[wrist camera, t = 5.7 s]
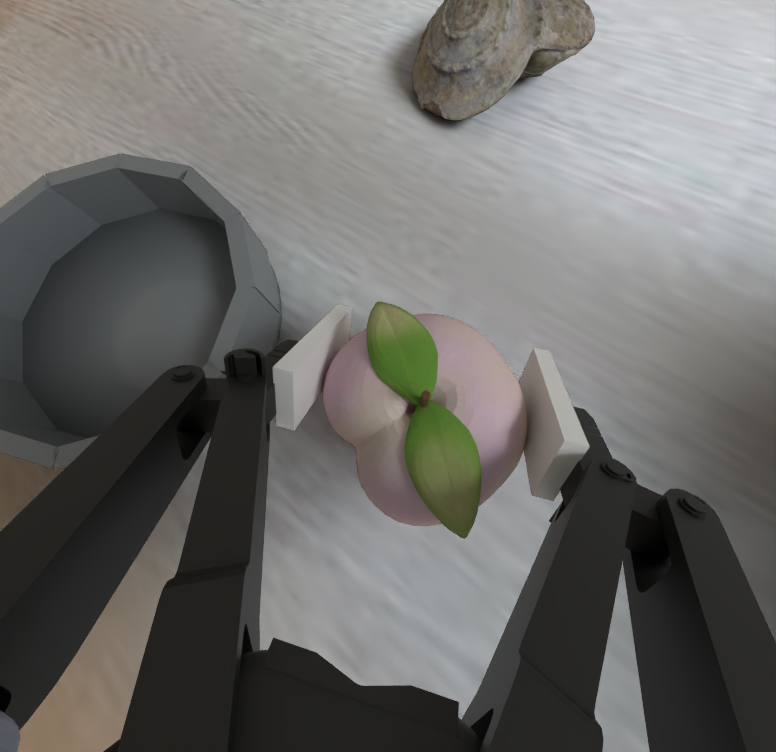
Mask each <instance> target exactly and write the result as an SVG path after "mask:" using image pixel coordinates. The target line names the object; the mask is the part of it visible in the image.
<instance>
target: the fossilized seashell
mask: <svg viewBox="0 0 776 752" xmlns="http://www.w3.org/2000/svg"><path fill="white" fill-rule="evenodd" d="M594 32H595V22H594V16H593V14H592V12H591V9H590V7H589V5H587V4H586V3H585V1H584V0H444V2H443V4H442V5H441V6H440V7H439V8H438V9H437V11H436V13H435V14H434V16H433V17H432V18H431V20H430V21H429V23H428V25H427V28H426V30H425V31H424V33H423V34H422V37H421V40H420V45H419V49H418V54H417V56H416V60H415V63H414V67H413V73H412V85H413V91H414V93H415V94H416V95H417V97H418V103H419V106H420V108H421V109H427V110H428V111H430V112H432V113H434V114H435V115H436V116H441V117H443V118H445V119H450V120H464V119H467V118H470V117H472V116H475V115H477V114H480V113H482V112H484V111H486V110H487V109H489V108H490V107H492V106H493V105H494V104H496V103H497V102H498V101H499V100H500V99H501V98H502V97H503V96H504V95H505V94H506V93H507V92H508V91H509V89H510V88H511V87H512V86H513V84H514V83H515V82H516V81H517V80H518V79H519V78H521V77H537V76H541V75H542V74H543V73H544V72H546V71H547V70H549V69H551V68H552V67H554V66H555V65H557V64H558V63H560V62H562V61H564V60H566V59H567V58H569V57H570V56H573V55H576V54H577V53H578V52H579V51H580V50H581V49H583V48H584V47H585V46H586V45H588V44H589V42H590V41H591V40H592V37H593V35H594Z"/></svg>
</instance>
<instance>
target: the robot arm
mask: <svg viewBox="0 0 776 752" xmlns="http://www.w3.org/2000/svg"><path fill="white" fill-rule="evenodd" d="M351 315H352V307H350V306H345V305H341V304H337V305H336V306H335V307H334V308H333V309H332V310H331V311H330V312H329V313H328V314H327V315H326V316H325V317H324V318H323V319H322V320H321V321H320V322H319V323H318V324H317V325H316V326H315V327H314V328H313V329H312V330H310V331H309V332H308V333H307V334H306V335H305V336H304V337H303V338H302V339H301V340H300V341H299V342H297V341H293V340H287V341H285V342H282V343H280V344H279V345H277V346H276V347H275V348H274V349H273V350H272V351H271V352H269V353H268V355H266V356H265V357H264V354H263V353H261V352H260V351H258V350H255V349H248V348H245V349H237V350H233V351H231V352H229V353H227V354H226V355H225V357H224V365H225V371H226V377H227V378H205V373H204V370H203V369H202V368H200V367H198V366H194V365H182V366H176V367H174V368H171V369H168V370H167V371H166V372H164V373H163V374H162V375H161V376H160V377H159V378H158V379H157V380H156V381H155V382H154V383H153V384H152V385H151V386H150V387H148V388H147V389H146V390H145V391H144V392H143V393H142V394H141V395H140V396H139V397H138V398H137V399H136V400H135V401H134V402H133V403H132V404H131V405H130V406H129V407H128V408H127V409H126V410H125V411H124V412H123V413H122V414H121V415H120V416H119V417H118V418H117V419H116V420H115V421H114V422H113V423H112V424H111V425H109V426H108V427H107V428H106V429H105V430H104V431H103V432H102V433H101V434H100V435H99V436H98V437H97V438H96V439H95V440H94V441H93V442H92V443H91V444H90V445H89V446H88V447H87V448H86V449H85V450H84V451H83V452H82V453H81V454H80V455H79V456H78V457H77V458H76V459H75V460H74V461H73V462H72V463H70V464H69V465H68V466H67V467H66V468H65V469H64V470H63V471H62V472H61V473H60V474H59V475H58V476H57V477H56V478H55V479H54V480H53V481H52V482H51V483H50V484H49V485H48V486H47V487H46V488H45V489H44V490H43V491H42V492H41V493H40V494H39V495H38V496H37V497H36V498H35V499H34V500H32V501H31V502H30V503H29V504H28V505H27V506H26V507H25V508H24V509H23V510H22V511H21V512H20V513H19V514H18V515H17V516H16V517H15V518H14V519H13V520H12V521H11V522H10V523H9V524H8V525H7V526H6V527H5V528H4V529H3V530H2V531H1V532H0V752H17V750H18V745H19V741H20V734H19V730H20V729H21V728H22V727H23V726H24V724H25V723H26V722H27V721H28V720H29V718H30V717H31V716H32V715H33V713H34V712H35V711H36V709H37V708H38V707H39V705H40V704H41V703H42V702H43V700H44V699H45V698H46V696H47V695H48V694H49V692H50V691H51V690H52V689H53V687H54V686H55V684H56V683H57V681H58V680H59V679H60V677H61V676H62V674H63V673H64V671H65V670H66V668H67V667H68V665H69V664H70V662H71V661H72V659H73V658H74V656H75V655H76V653H77V652H78V650H79V648H80V647H81V645H82V643H83V642H84V640H85V639H86V637H87V635H88V634H89V632H90V631H91V629H92V627H93V626H94V624H95V623H96V621H97V619H98V618H99V616H100V615H101V613H102V611H103V610H104V608H105V607H106V605H107V603H108V602H109V600H110V598H111V597H112V595H113V594H114V592H115V590H116V589H117V587H118V586H119V584H120V582H121V581H122V579H123V578H124V576H125V574H126V573H127V571H128V570H129V568H130V566H131V565H132V563H133V561H134V560H135V558H136V557H137V555H138V553H139V552H140V550H141V549H142V547H143V545H144V544H145V542H146V541H147V539H148V537H149V536H150V534H151V533H152V531H153V529H154V528H155V526H156V524H157V523H158V521H159V520H160V518H161V516H162V515H163V513H164V512H165V510H166V508H167V507H168V505H169V504H170V502H171V500H172V499H173V497H174V496H175V494H176V492H177V491H178V489H179V488H180V486H181V484H182V483H183V481H184V479H185V478H186V476H187V475H188V473H189V471H190V470H191V468H192V467H193V465H194V463H195V462H196V460H197V459H198V457H199V455H200V454H201V452H202V451H203V449H204V447H205V446H206V444H207V442H208V441H209V439H210V438H211V441H210V445H209V449H208V453H207V457H206V461H205V465H204V469H203V473H202V476H201V480H200V484H199V488H198V492H197V496H196V500H195V504H194V508H193V512H192V516H191V520H190V524H189V528H188V532H187V535H186V539H185V543H184V547H183V551H182V555H181V559H180V563H179V567H178V570H177V573H176V575H175V577H174V578H172V579H170V580H168V581H167V583H166V585H165V586H164V588H163V590H162V593H161V596H160V599H159V602H158V606H157V609H156V613H155V617H154V620H153V624H152V627H151V631H150V635H149V638H148V642H147V645H146V649H145V652H144V656H143V660H142V663H141V667H140V670H139V674H138V678H137V681H136V685H135V688H134V692H133V696H132V699H131V703H130V706H129V710H128V714H127V717H126V721H125V724H124V728H123V732H122V735H121V739H119V740H118V741H117V742H115V743H114V744H113V745H112V746H110V747H109V748H108V749H106V750H105V751H104V752H602V749H603V734H602V728H601V726H600V725H599V724H598V722H597V721H596V720H595V715H594V710H595V702H596V697H597V692H598V687H599V681H600V676H601V671H602V665H603V660H604V655H605V649H606V644H607V639H608V634H609V628H610V623H611V618H612V612H613V607H614V602H615V596H616V591H617V586H618V580H619V575H620V570H621V565H622V559H623V566H624V574H625V581H626V588H627V595H628V602H629V609H630V616H631V623H632V630H633V637H634V644H635V651H636V658H637V665H638V672H639V679H640V686H641V693H642V700H643V708H644V715H645V722H646V729H647V736H648V743H649V750H650V752H776V643H775V641H774V638H773V636H772V634H771V632H770V630H769V627H768V625H767V623H766V621H765V619H764V616H763V614H762V612H761V610H760V607H759V605H758V603H757V601H756V599H755V596H754V594H753V592H752V590H751V588H750V585H749V583H748V581H747V579H746V577H745V574H744V572H743V570H742V568H741V565H740V563H739V561H738V559H737V557H736V554H735V552H734V550H733V548H732V546H731V543H730V541H729V539H728V537H727V535H726V532H725V530H724V528H723V526H722V523H721V521H720V519H719V517H718V516H717V514H716V513H715V511H714V510H713V509H712V508H711V507H710V506H709V505H708V504H707V503H706V502H705V501H703V500H702V499H700V498H699V497H697V496H695V495H693V494H691V493H689V492H687V491H684V490H680V489H670V490H668V491H667V492H666V493H665V494H664V495H663V496H661V495H659V494H657V493H655V492H653V491H651V490H649V489H646V488H644V487H642V486H640V485H638V484H637V482H636V477H635V476H634V474H633V473H632V472H631V471H630V470H629V469H628V468H627V467H626V466H625V465H623V464H622V463H620V462H619V461H617V460H615V459H613V458H612V456H611V454H610V452H609V450H608V448H607V446H606V444H605V442H604V440H603V438H602V437H601V434H600V431H599V429H597V428H598V427H597V425H596V423H595V421H594V419H593V418H592V417H591V416H590V415H589V414H588V413H587V412H586V411H585V410H584V409H581V408H577V407H573V406H572V403H571V401H570V398H569V396H568V394H567V391H566V389H565V386H564V384H563V382H562V379H561V377H560V374H559V372H558V370H557V367H556V365H555V363H554V360H553V358H552V355H551V353H550V351H547V350H542V349H538V348H533V350H532V352H531V355H530V357H529V359H528V361H527V364H526V366H525V368H524V371H523V373H522V375H521V377H520V380H519V384H520V387H521V389H522V392H523V395H524V399H525V403H526V409H527V423H528V425H527V437H526V442H525V446H524V455H525V460H526V466H527V472H528V477H529V483H530V489H531V494H532V495H533V496H537V497H540V498H544V499H548V500H551V501H554V499H555V498H556V496H557V495H558V493H559V492H560V490H561V494H562V497H563V502H562V503H561V504H560V506H559V507H558V509H557V510H556V512H555V513H554V514H553V516H552V517H551V519H550V520H549V521H550V522H551V525H550V527H549V530H548V532H547V534H546V536H545V539H544V541H543V543H542V546H541V548H540V550H539V552H538V555H537V557H536V559H535V562H534V564H533V566H532V569H531V571H530V573H529V575H528V578H527V580H526V582H525V585H524V587H523V589H522V591H521V594H520V596H519V598H518V601H517V603H516V605H515V607H514V610H513V612H512V614H511V617H510V619H509V621H508V623H507V626H506V628H505V630H504V633H503V635H502V637H501V640H500V642H499V644H498V646H497V649H496V651H495V653H494V656H493V658H492V660H491V662H490V665H489V667H488V669H487V672H486V674H485V676H484V678H483V681H482V683H481V685H480V687H479V690H478V692H477V694H476V695H475V697H474V699H473V701H472V702H471V704H470V706H469V707H468V709H467V711H466V713H465V715H464V717H463V718H462V720H461V719H460V718H458V706H459V702H457V701H454V700H451V699H448V698H446V697H443V696H440V695H437V694H434V693H431V692H428V691H425V690H422V689H420V688H417V687H414V686H361V685H358V684H356V683H355V682H353V681H352V680H351V679H350V678H348V677H347V676H346V675H344V674H343V673H342V672H341V671H339V670H338V669H337V668H335V667H334V666H333V665H332V664H330V663H329V662H328V661H327V660H325V659H324V658H323V657H321V656H320V655H319V654H318V653H316V652H313V651H310V650H307V649H304V648H301V647H298V646H296V645H293V644H290V643H287V642H284V641H281V640H278V639H275V638H273V640H272V642H271V645H270V647H269V649H268V650H260V651H259V649H260V629H259V614H260V596H261V579H262V561H263V544H264V527H265V510H266V492H267V475H268V458H269V441H270V421H271V420H272V419H273V417H274V416H275V415H276V426H279V427H282V428H286V429H290V430H293V431H295V429H296V428H297V426H298V425H299V423H300V422H301V420H302V419H303V418H304V416H305V415H306V413H307V412H308V410H309V409H310V408H311V406H312V405H313V403H314V402H315V400H316V399H317V398H318V396H319V395H320V393H321V392H322V390H323V386H324V380H325V376H326V373H327V371H328V368H329V366H330V364H331V362H332V360H333V359H334V358H335V356H336V355H337V354H338V352H339V351H340V350H341V348H342V347H343V346H344V345H346V344H347V343H348V342H349V338H350V327H351ZM211 436H212V437H211Z"/></svg>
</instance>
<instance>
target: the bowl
mask: <svg viewBox="0 0 776 752" xmlns="http://www.w3.org/2000/svg"><path fill="white" fill-rule="evenodd" d="M280 326H281V298H280V291H279V286H278V283H277V279H276V276H275V273H274V271H273V269H272V266H271V264H270V262H269V258H268V253H267V250H266V248H265V247H264V245H263V244H262V243H261V241H260V240H259V238H258V237H257V235H256V234H255V233H254V231H253V230H252V228H251V227H250V226H249V224H248V223H247V221H246V220H245V218H244V217H243V216H242V214H241V213H240V212H239V211H238V210H237V209H236V208H235V207H234V206H233V205H232V204H231V203H230V202H229V201H228V200H226V199H225V198H224V197H223V196H222V195H221V194H220V193H219V192H218V191H217V190H216V189H215V188H214V187H212V186H211V185H210V184H209V183H208V182H207V181H206V180H205V179H204V178H203V177H202V176H201V175H200V174H199V173H197V172H196V171H195V170H194V169H193V168H192V167H190V166H187V165H181V164H176V163H170V162H165V161H159V160H154V159H148V158H143V157H137V156H132V155H126V154H121V155H120V154H116V155H113V156H109V157H105V158H102V159H98V160H95V161H91V162H88V163H84V164H80V165H77V166H73V167H70V168H66V169H62V170H59V171H55V172H52V173H48V174H45V176H44V175H43V176H42V177H40V178H39V179H38V180H36V181H35V182H34V183H33V184H31V185H30V186H29V187H27V188H26V189H25V190H23V191H22V192H21V193H20V194H18V195H17V196H16V197H14V198H13V199H12V200H10V201H9V202H8V203H6V204H5V205H4V206H3V207H1V208H0V452H1V453H4V454H7V455H10V456H14V457H17V458H20V459H23V460H26V461H30V462H33V463H36V464H39V465H42V466H46V467H49V468H66V467H67V466H68V465H69V464H70V463H72V462H73V461H74V460H75V459H76V458H77V457H78V456H79V455H80V454H81V453H82V452H83V451H84V450H85V449H86V448H87V447H88V446H89V445H90V444H91V443H92V442H93V441H94V440H95V439H96V438H97V437H98V436H99V435H100V434H101V433H102V432H103V431H104V430H105V429H106V428H107V427H108V426H109V425H111V424H112V423H113V422H114V421H115V420H116V419H117V418H118V417H119V416H120V415H121V414H122V413H123V412H124V411H125V410H126V409H127V408H128V407H129V406H130V405H131V404H132V403H133V402H134V401H135V400H136V399H137V398H138V397H139V396H140V395H141V394H142V393H143V392H144V391H145V390H146V389H147V388H148V387H150V386H151V385H152V384H153V383H154V382H155V381H156V380H157V379H158V378H159V377H160V376H161V375H162V374H163V373H164V372H166V371H167V370H168V369H171V368H174V367H176V366H182V365H194V366H198V367H200V368H202V369H203V370H204V373H205V378H227V377H226V371H225V365H224V357H225V355H226V354H227V353H229V352H231V351H233V350H237V349H245V348H248V349H255V350H258V351H260V352H261V353H263V354H264V357H265V356H266V355H268V353H269V352H271V351H272V350H273V349H274V348H275V347H276V346H277V342H278V338H279V333H280Z"/></svg>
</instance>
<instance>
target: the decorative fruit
mask: <svg viewBox="0 0 776 752" xmlns="http://www.w3.org/2000/svg"><path fill="white" fill-rule="evenodd" d="M323 402H324V407H325V412H326V415H327V418H328V420H329V422H330V424H331V426H332V427H333V428H334V430H335V431H336V432H337V433H338V434H339V435H340V436H341V437H342V438H343V439H345V440H346V441H348V442H349V443H350V444H352V445H353V446H354V447H355V448H356V451H357V470H358V477H359V480H360V483H361V486H362V488H363V490H364V491H365V493H366V495H367V497H368V498H369V499H370V500H371V501H372V503H373V504H374V505H375V506H376V507H377V508H378V509H379V510H381V511H382V512H383V513H384V514H385V515H387V516H389V517H391V518H392V519H394V520H396V521H398V522H401V523H405V524H409V525H413V526H431V525H437V524H443V525H444V526H446V527H447V528H448V529H449V530H451V531H452V532H454V533H455V534H457V535H458V536H460V537H461V538H466V537H467V535H468V533H469V531H470V529H471V528H472V526H473V524H474V521H475V518H476V515H477V511H478V506H480V505H481V504H482V503H484V502H485V501H486V500H487V499H488V498H489V497H490V496H491V495H492V494H493V493H494V492H495V491H496V490H497V489H498V488H499V487H500V486H501V485H502V484H503V483H504V482H505V481H506V479H507V478H508V477H509V476H510V474H511V473H512V472H513V470H514V469H515V468H516V466H517V464H518V462H519V460H520V458H521V455H522V453H523V450H524V446H525V442H526V437H527V425H528V423H527V409H526V403H525V399H524V395H523V392H522V389H521V387H520V384H519V382H518V380H517V378H516V376H515V375H514V373H513V371H512V370H511V368H510V367H509V365H508V364H507V362H506V361H505V359H504V358H503V356H502V355H501V354H500V352H499V351H498V349H497V348H496V347H495V346H494V344H493V343H492V342H491V341H490V340H489V339H488V338H487V337H486V336H485V335H483V334H482V333H481V332H479V331H478V330H476V329H475V328H473V327H471V326H469V325H468V324H465V323H463V322H461V321H459V320H456V319H454V318H451V317H447V316H443V315H437V314H417V315H411V314H410V313H408V312H407V311H405V310H403V309H401V308H400V307H397V306H395V305H392V304H388V303H383V302H377V303H376V304H375V306H374V307H373V309H372V311H371V313H370V316H369V319H368V324H367V329H366V330H364V331H362V332H361V333H359V334H357V335H356V336H355V337H354V338H352V339H351V340H350V341H349V342H348V343H347V344H346V345H344V346H343V347H342V348H341V350H340V351H339V352H338V354H337V355H336V356H335V358H334V359H333V360H332V362H331V364H330V366H329V368H328V371H327V373H326V376H325V380H324V386H323Z"/></svg>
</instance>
